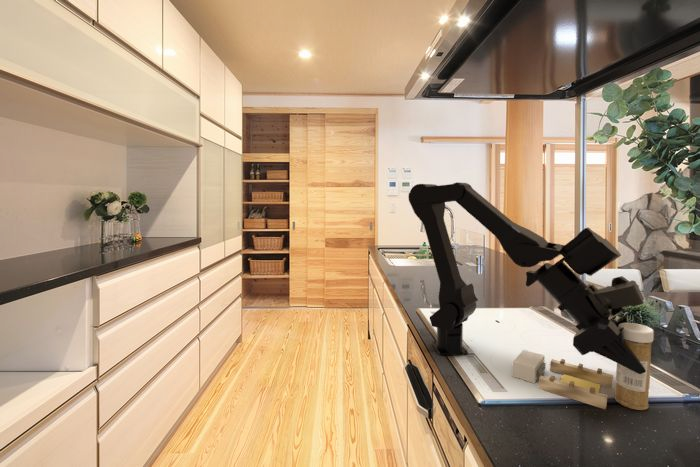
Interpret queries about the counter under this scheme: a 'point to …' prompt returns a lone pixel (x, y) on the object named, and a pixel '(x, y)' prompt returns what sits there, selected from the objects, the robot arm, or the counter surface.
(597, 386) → the band
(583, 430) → the counter surface
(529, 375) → the block
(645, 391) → the sprinkles bottle
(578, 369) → the guide channel
